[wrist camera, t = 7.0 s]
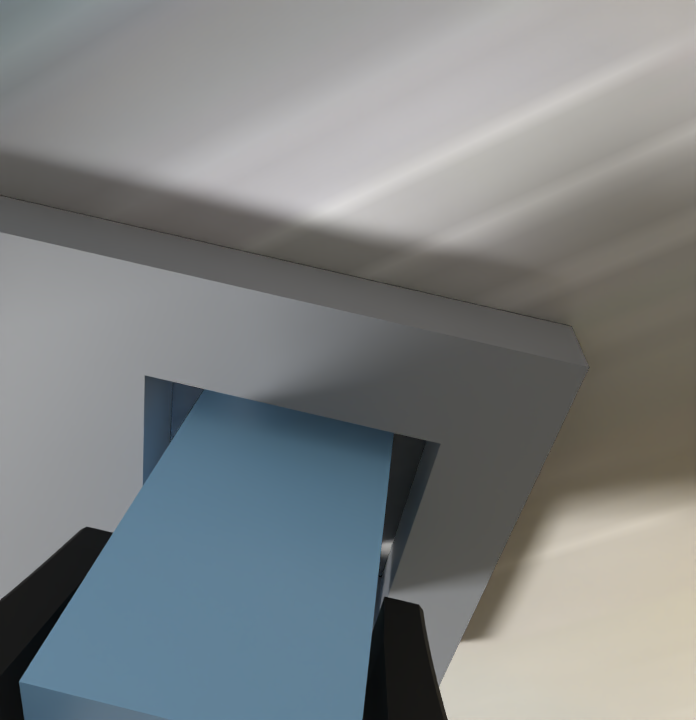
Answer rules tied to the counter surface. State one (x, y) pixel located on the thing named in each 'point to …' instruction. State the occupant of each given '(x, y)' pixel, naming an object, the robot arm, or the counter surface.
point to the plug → (230, 578)
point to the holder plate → (263, 389)
